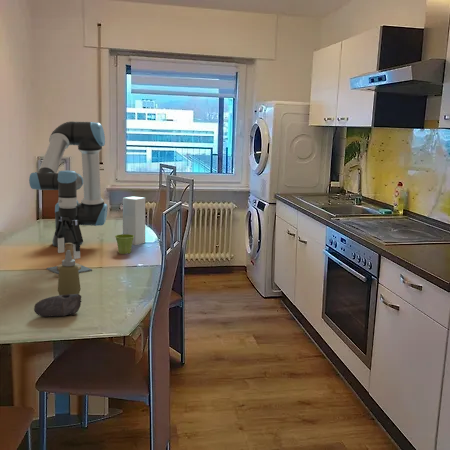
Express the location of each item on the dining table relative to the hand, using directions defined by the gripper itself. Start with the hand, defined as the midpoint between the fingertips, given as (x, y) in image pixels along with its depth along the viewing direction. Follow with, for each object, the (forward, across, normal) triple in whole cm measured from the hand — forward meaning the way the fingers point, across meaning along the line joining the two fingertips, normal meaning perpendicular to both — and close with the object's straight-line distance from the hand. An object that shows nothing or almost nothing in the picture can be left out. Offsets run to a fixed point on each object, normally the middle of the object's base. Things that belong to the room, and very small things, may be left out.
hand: (68, 255), depth 222 cm
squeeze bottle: (+7, +35, -19) cm, 40 cm away
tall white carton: (+7, -28, +54) cm, 61 cm away
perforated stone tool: (+7, +48, -30) cm, 57 cm away
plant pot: (+7, -12, +37) cm, 39 cm away
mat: (+7, 0, 0) cm, 7 cm away
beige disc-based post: (+6, 0, 0) cm, 6 cm away
